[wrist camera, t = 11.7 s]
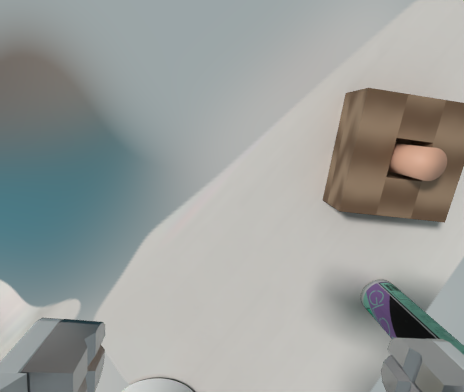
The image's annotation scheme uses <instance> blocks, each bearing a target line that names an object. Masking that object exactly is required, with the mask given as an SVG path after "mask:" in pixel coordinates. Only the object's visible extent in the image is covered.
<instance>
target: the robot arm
mask: <svg viewBox="0 0 464 392" xmlns="http://www.w3.org/2000/svg"><path fill="white" fill-rule="evenodd" d="M104 337H105V324H104V322H97V321H84V320H71V319H53V318H42V319H40V320H38V321H36V322H35V323H34V325H33V326H32V327H31V328H30V329H29V330H28V331H27V332H26V334H25V335H24V336H23V337H22V338H21V339H20V340H19V341H18V343H17V344H16V345H15V346H14V347H13V348H12V349H11V350H10V352H9V353H8V354H7V355H6V356H5V357H4V358H3V359H2V360H1V362H0V392H95V390H96V388H97V385H98V383H99V379H100V376H101V373H102V369H103V364H104V357H105V349H104V348H103V347H102V346H101V343H102V341H103V339H104ZM388 351H389V353H390V356H389V357H388V358H387V359H386V360H385V361H384V362H383V366H382V369H381V375H382V381H383V384H384V387H385V389H386V391H387V392H464V355H463V354H462V353H461V352H460V351H459V350H458V349H457V348H455V347H454V346H453V345H452V344H451V343H450V342H448V341H446V340H443V339H416V338H393V339H392V340H391V341H390V343H389V346H388ZM121 392H193V391H192V390H191V389H190V388H189V387H187V386H185V385H184V384H182V383H180V382H177V381H174V380H170V379H162V378H154V379H146V380H142V381H138V382H136V383H133V384H131V385H129V386H128V387H126V388H125V389H123V390H122V391H121Z"/></svg>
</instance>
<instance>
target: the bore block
mask: <svg viewBox="0 0 464 392" xmlns="http://www.w3.org/2000/svg"><path fill="white" fill-rule="evenodd" d="M395 143H396V144H406V145H415V146H424V147H433V148H439V149H441V150H443V151H444V153H445V154H446V156H447V166H446V169H445V171H444V172H443V174H442V175H441V176H440V177H438V178H437V179H435V180H432V181H423V180H420V179H416V178H412V177H409V176H405V175H401V174H397V173H394V172H390V171H388V169H389V165H390V161H391V158H392V154H393V150H394V146H395ZM463 166H464V103H460V102H454V101H447V100H441V99H435V98H429V97H422V96H416V95H410V94H404V93H397V92H391V91H385V90H379V89H372V88H366V89H362V90H357V91H353V92H349V93H346V95H345V100H344V105H343V109H342V114H341V118H340V123H339V128H338V132H337V137H336V142H335V146H334V151H333V155H332V160H331V165H330V169H329V174H328V178H327V183H326V188H325V192H324V197H323V201H325V202H326V203H328V204H329V205H331V206H332V207H334V208H335V209H337V210H338V211H341V212H351V213H361V214H370V215H380V216H390V217H399V218H409V219H418V220H428V221H438V222H445V220H446V217H447V214H448V211H449V208H450V205H451V202H452V199H453V196H454V193H455V190H456V187H457V184H458V181H459V178H460V175H461V172H462V169H463Z"/></svg>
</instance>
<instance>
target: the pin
mask: <svg viewBox="0 0 464 392" xmlns="http://www.w3.org/2000/svg"><path fill="white" fill-rule="evenodd" d="M446 166H447V156H446V154H445V153H444V151H443V150H441V149H439V148H433V147H424V146H415V145H406V144H396V143H395V146H394V150H393V154H392V158H391V161H390V165H389V169H388V171H390V172H394V173H397V174H401V175H405V176H409V177H412V178H416V179H420V180H423V181H432V180H435V179H437V178H438V177H440V176H441V175H442V174H443V172H444V171H445V169H446Z"/></svg>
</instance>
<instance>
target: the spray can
mask: <svg viewBox="0 0 464 392" xmlns="http://www.w3.org/2000/svg"><path fill="white" fill-rule="evenodd" d="M361 302H362V304H363V305H364V307H365V308H366V309H367V310H368V312H369V313H370V314H371V315H372V316H373V317H374V318H375V320H376V321H377V322H378V323H379V324H380V325H381V327H382V328H383V329H384V330H385V331H386V332H387V334H388V335H389V336H390V337H391V338H392V339H393V338H416V339H443V340H446V341H448V342H450V343H451V344H452V345H453V346H454V347H455V348H457V349H458V350H459V351H460V352H461V353H462V354H463V355H464V346H463V345H462V344H461V343H460V342H459V341H458V340H457V339H455V338H454V337H453V336H452V335H451V334H450V333H448V332H447V331H446V330H445V329H444V328H442V327H441V326H440V325H439V324H438V323H437V322H436V321H434V320H433V319H432V318H431V317H430V316H429V315H428V314H426V313H425V312H424V311H423V310H422V309H421V308H419V307H418V306H417V305H416V304H415V303H414V302H412V301H411V300H410V299H409V298H408V297H407V296H406V295H404V294H403V293H402V292H401V291H400V290H399V289H397V288H396V287H395V286H394V285H393V284H391V283H390V282H389V281H387V280H375V281H372V282H371V283H369V284H368V285H367V286H366V287H365V288H364V289H363V291H362V294H361Z"/></svg>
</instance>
